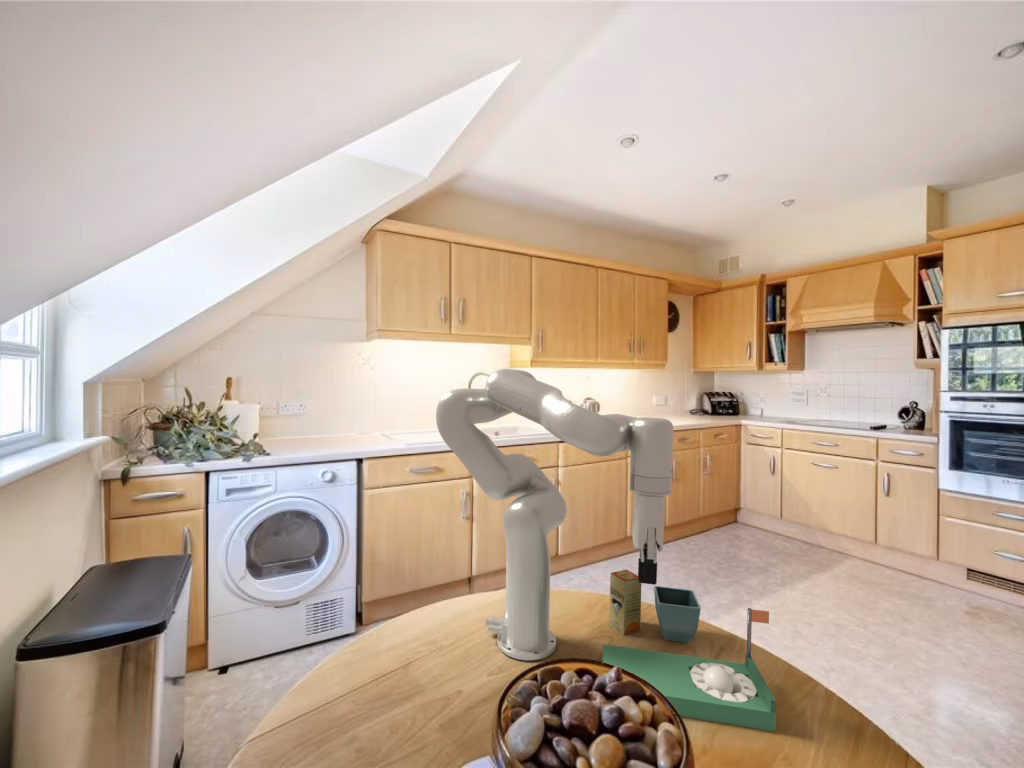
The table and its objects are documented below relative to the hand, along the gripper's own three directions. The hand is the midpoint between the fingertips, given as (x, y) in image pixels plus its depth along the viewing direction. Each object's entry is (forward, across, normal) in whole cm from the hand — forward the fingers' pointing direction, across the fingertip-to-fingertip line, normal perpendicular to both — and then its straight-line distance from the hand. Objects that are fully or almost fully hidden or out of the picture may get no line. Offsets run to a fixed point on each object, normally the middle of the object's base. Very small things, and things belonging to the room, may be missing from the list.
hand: (647, 581), depth 82 cm
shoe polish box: (+19, -20, -3) cm, 28 cm away
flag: (+19, -5, +21) cm, 29 cm away
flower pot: (+19, -19, +8) cm, 28 cm away
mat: (+19, 0, +6) cm, 20 cm away
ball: (+16, 0, +13) cm, 21 cm away
